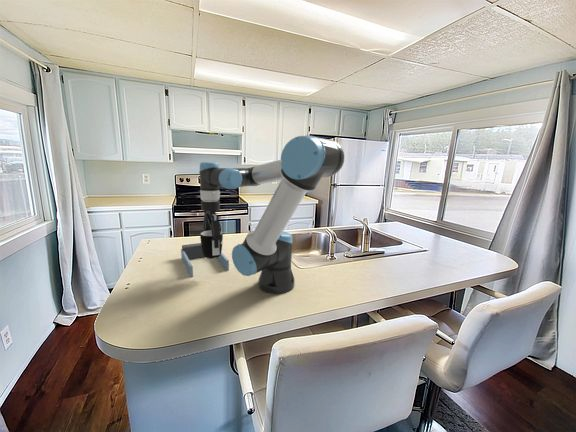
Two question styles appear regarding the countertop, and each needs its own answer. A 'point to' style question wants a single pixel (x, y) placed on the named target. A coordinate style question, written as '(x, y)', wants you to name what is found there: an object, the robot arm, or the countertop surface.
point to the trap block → (193, 251)
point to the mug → (209, 244)
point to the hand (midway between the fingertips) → (212, 250)
